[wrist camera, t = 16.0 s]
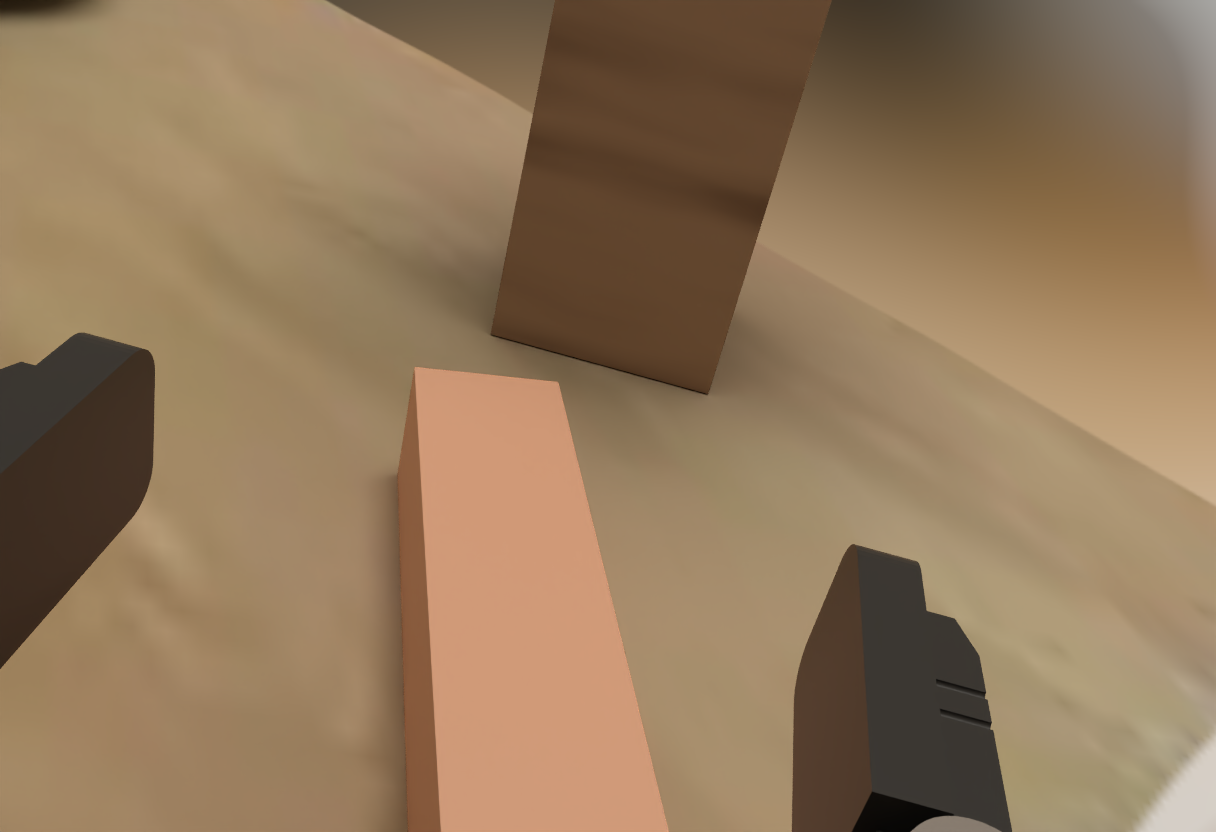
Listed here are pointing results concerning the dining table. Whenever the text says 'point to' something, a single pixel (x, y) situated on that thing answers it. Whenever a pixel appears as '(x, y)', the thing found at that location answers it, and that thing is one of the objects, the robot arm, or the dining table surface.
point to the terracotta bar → (510, 623)
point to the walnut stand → (651, 177)
